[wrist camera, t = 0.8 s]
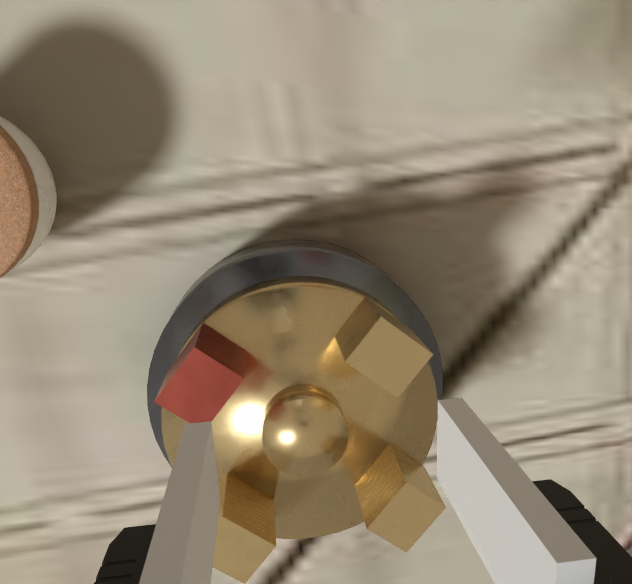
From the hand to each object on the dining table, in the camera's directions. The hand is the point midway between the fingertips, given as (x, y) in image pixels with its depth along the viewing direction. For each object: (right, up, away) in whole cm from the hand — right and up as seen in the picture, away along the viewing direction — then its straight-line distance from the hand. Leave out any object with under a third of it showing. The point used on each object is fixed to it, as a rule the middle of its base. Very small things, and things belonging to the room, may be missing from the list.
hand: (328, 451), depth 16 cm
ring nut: (-1, -2, +19) cm, 19 cm away
